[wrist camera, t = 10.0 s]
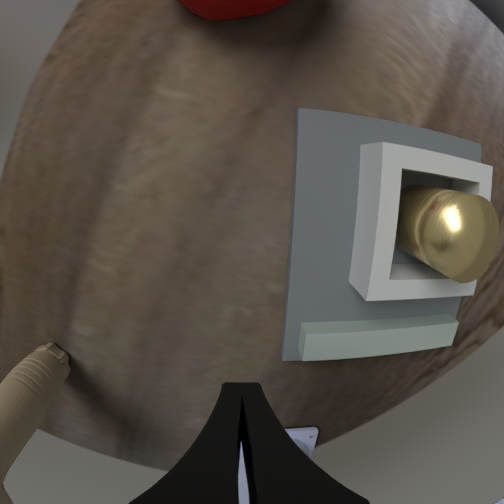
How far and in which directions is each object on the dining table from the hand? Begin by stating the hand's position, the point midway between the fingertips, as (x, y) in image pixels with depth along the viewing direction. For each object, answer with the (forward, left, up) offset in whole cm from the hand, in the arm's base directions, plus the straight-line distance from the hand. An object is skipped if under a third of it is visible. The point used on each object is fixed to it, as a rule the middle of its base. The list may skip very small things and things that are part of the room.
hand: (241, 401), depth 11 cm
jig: (+4, -10, -9) cm, 14 cm away
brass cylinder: (+6, -11, -8) cm, 15 cm away
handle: (-6, +15, -10) cm, 19 cm away
